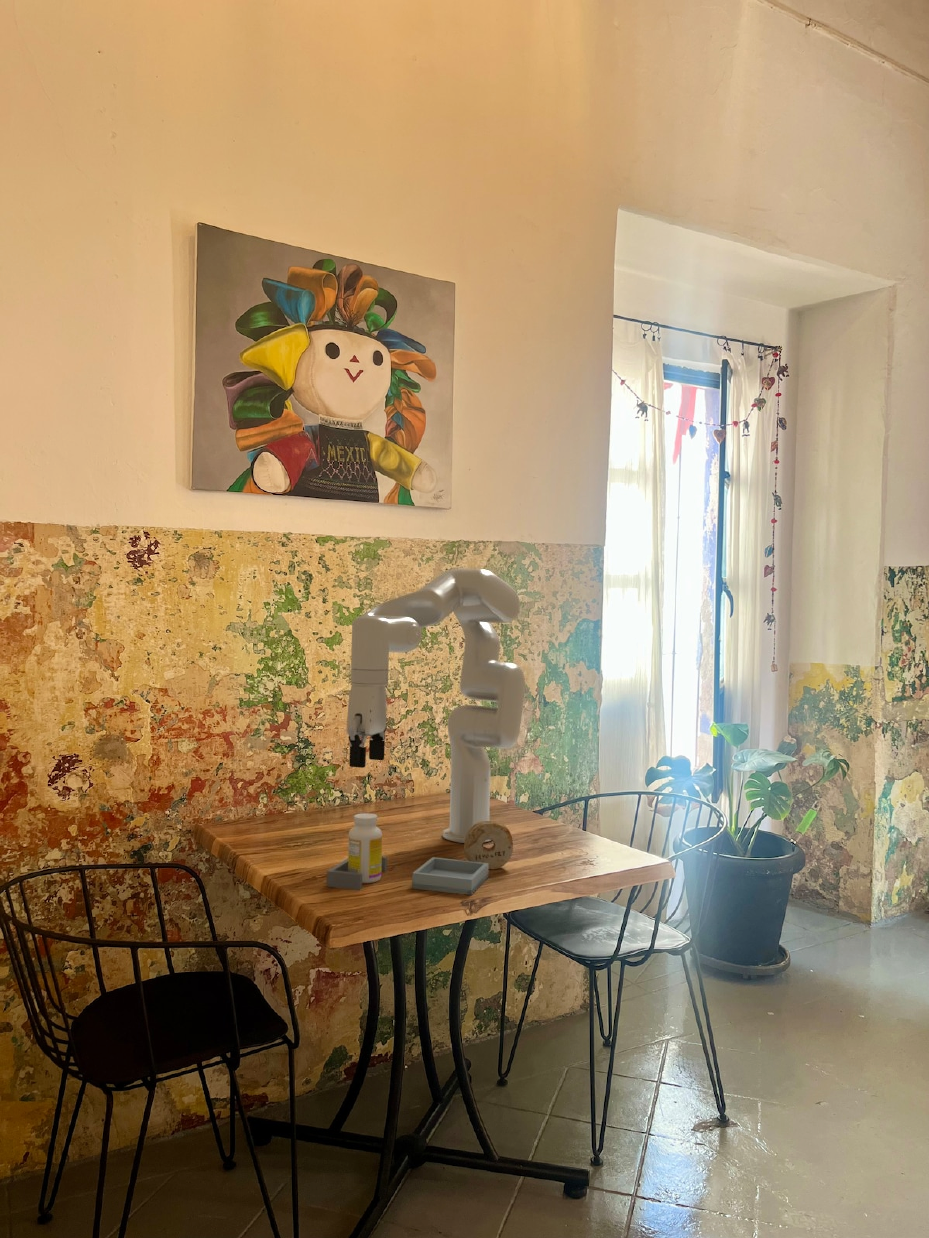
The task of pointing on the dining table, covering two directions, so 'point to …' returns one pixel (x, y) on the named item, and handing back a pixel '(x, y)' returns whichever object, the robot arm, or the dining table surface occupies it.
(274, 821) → the dining table surface
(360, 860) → the supplement bottle
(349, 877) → the bay
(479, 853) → the stone disc
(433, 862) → the tray
